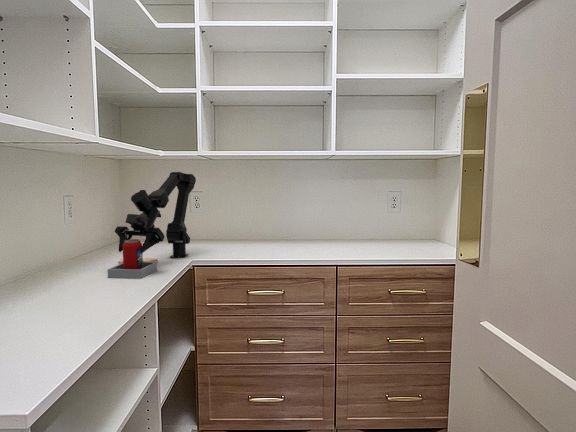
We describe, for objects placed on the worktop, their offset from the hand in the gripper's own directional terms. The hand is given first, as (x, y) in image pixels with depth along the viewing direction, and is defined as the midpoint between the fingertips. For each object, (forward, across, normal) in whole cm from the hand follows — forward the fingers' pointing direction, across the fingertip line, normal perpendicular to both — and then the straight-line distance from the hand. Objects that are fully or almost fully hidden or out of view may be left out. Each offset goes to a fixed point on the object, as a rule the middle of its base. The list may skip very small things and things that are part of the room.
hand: (130, 252), depth 137 cm
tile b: (-8, -7, +20) cm, 22 cm away
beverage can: (+5, 0, +7) cm, 8 cm away
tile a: (-6, -15, +18) cm, 24 cm away
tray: (+5, 0, +7) cm, 9 cm away
